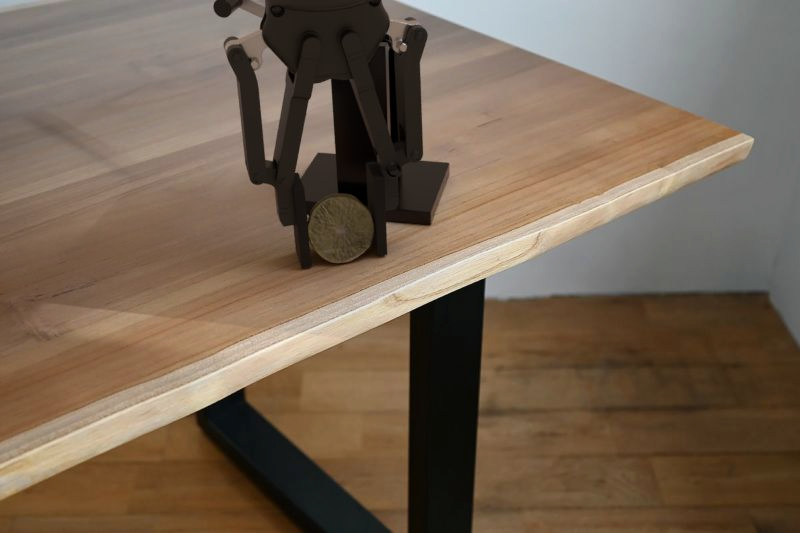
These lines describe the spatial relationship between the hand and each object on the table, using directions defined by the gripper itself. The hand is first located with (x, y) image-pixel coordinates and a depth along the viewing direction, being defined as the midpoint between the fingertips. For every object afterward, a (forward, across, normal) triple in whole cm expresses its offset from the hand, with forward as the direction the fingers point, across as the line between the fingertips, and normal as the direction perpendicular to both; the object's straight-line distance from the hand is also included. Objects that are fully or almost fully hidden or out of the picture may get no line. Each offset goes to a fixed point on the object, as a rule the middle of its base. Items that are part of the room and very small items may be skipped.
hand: (341, 251), depth 69 cm
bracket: (0, +4, +9) cm, 10 cm away
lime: (0, 0, 0) cm, 0 cm away
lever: (-13, 0, +11) cm, 17 cm away
